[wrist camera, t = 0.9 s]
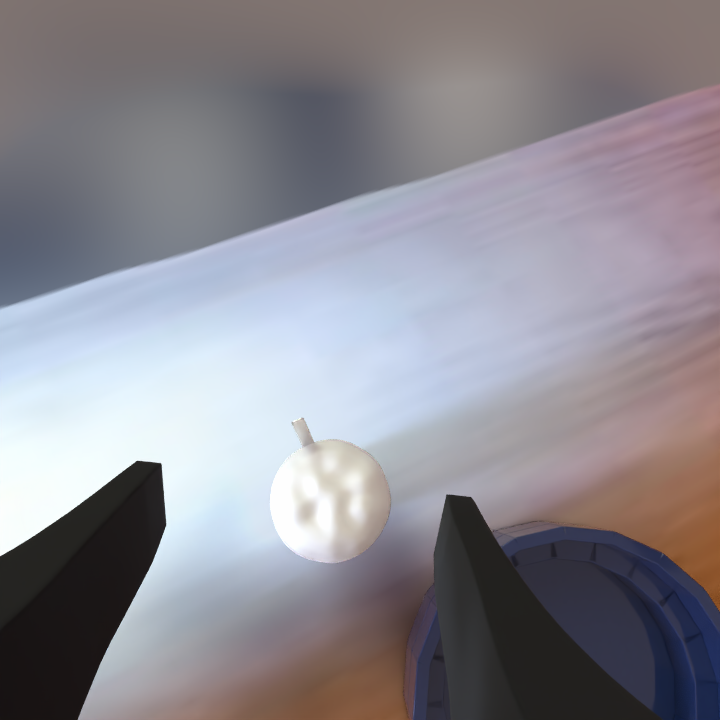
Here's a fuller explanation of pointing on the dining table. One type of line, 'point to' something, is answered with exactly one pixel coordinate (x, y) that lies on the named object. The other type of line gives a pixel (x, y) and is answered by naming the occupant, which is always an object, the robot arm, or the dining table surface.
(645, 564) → the bowl
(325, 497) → the milkshake
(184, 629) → the dining table surface
